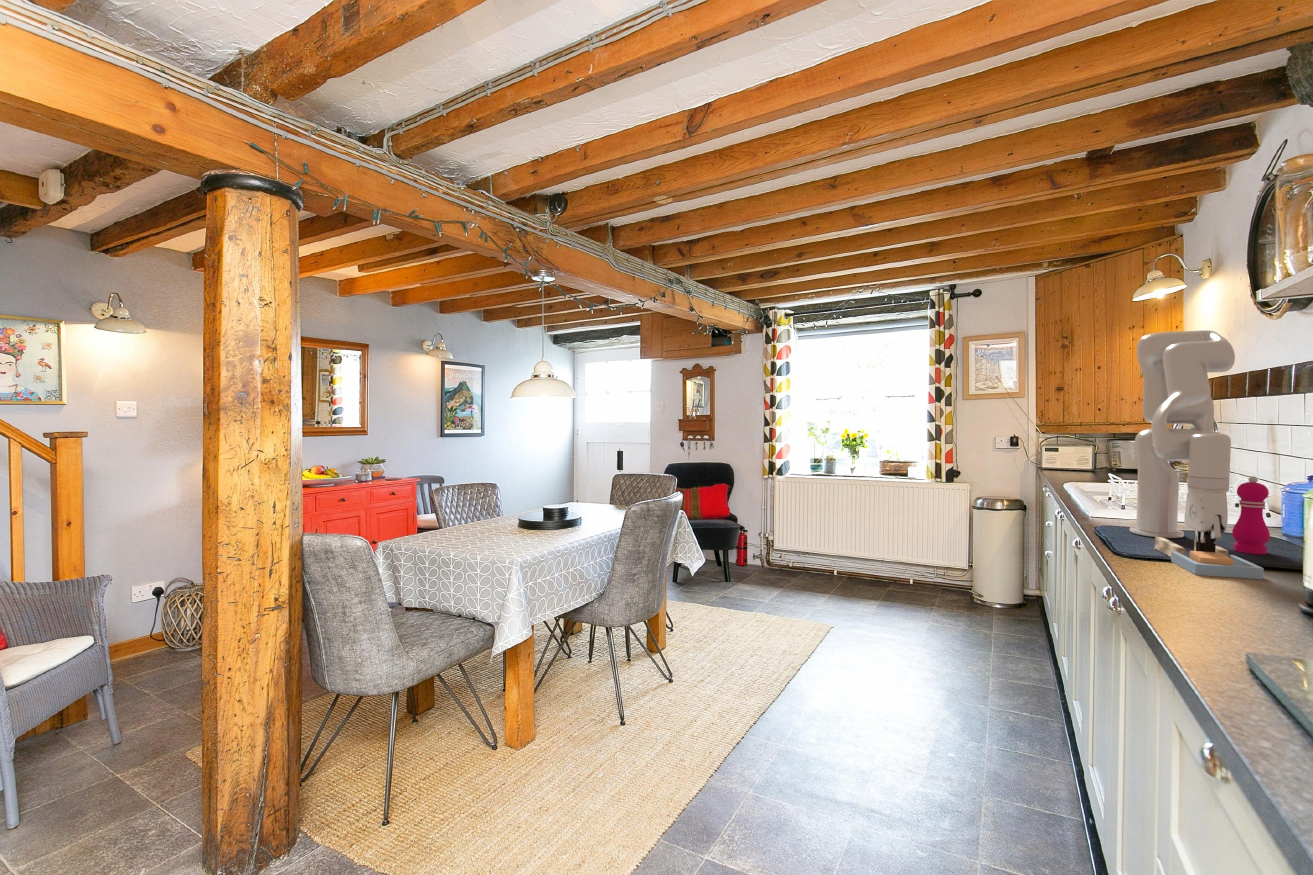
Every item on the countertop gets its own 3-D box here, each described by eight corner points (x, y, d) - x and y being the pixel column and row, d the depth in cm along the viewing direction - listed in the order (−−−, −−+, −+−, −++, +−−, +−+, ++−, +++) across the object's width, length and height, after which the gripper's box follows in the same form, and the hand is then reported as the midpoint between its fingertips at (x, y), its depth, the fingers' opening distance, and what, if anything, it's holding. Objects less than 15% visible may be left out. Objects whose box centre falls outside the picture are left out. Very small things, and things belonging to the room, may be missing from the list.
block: (1189, 566, 149) (1189, 550, 149) (1220, 569, 147) (1221, 552, 146) (1199, 574, 143) (1200, 557, 143) (1233, 577, 140) (1233, 560, 140)
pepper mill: (1252, 548, 164) (1256, 474, 163) (1277, 555, 157) (1281, 478, 156) (1223, 548, 165) (1226, 474, 164) (1246, 554, 158) (1250, 478, 157)
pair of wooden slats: (1154, 549, 165) (1154, 536, 165) (1201, 552, 161) (1201, 539, 161) (1176, 561, 153) (1177, 547, 152) (1227, 564, 149) (1228, 550, 149)
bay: (1171, 561, 153) (1171, 551, 153) (1233, 565, 149) (1234, 555, 149) (1194, 574, 142) (1195, 564, 141) (1263, 579, 137) (1263, 568, 137)
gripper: (1175, 479, 157) (1172, 550, 158) (1204, 487, 143) (1201, 565, 144) (1211, 480, 154) (1208, 552, 155) (1245, 489, 140) (1241, 567, 141)
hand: (1205, 558), depth 149 cm, fingers closed
